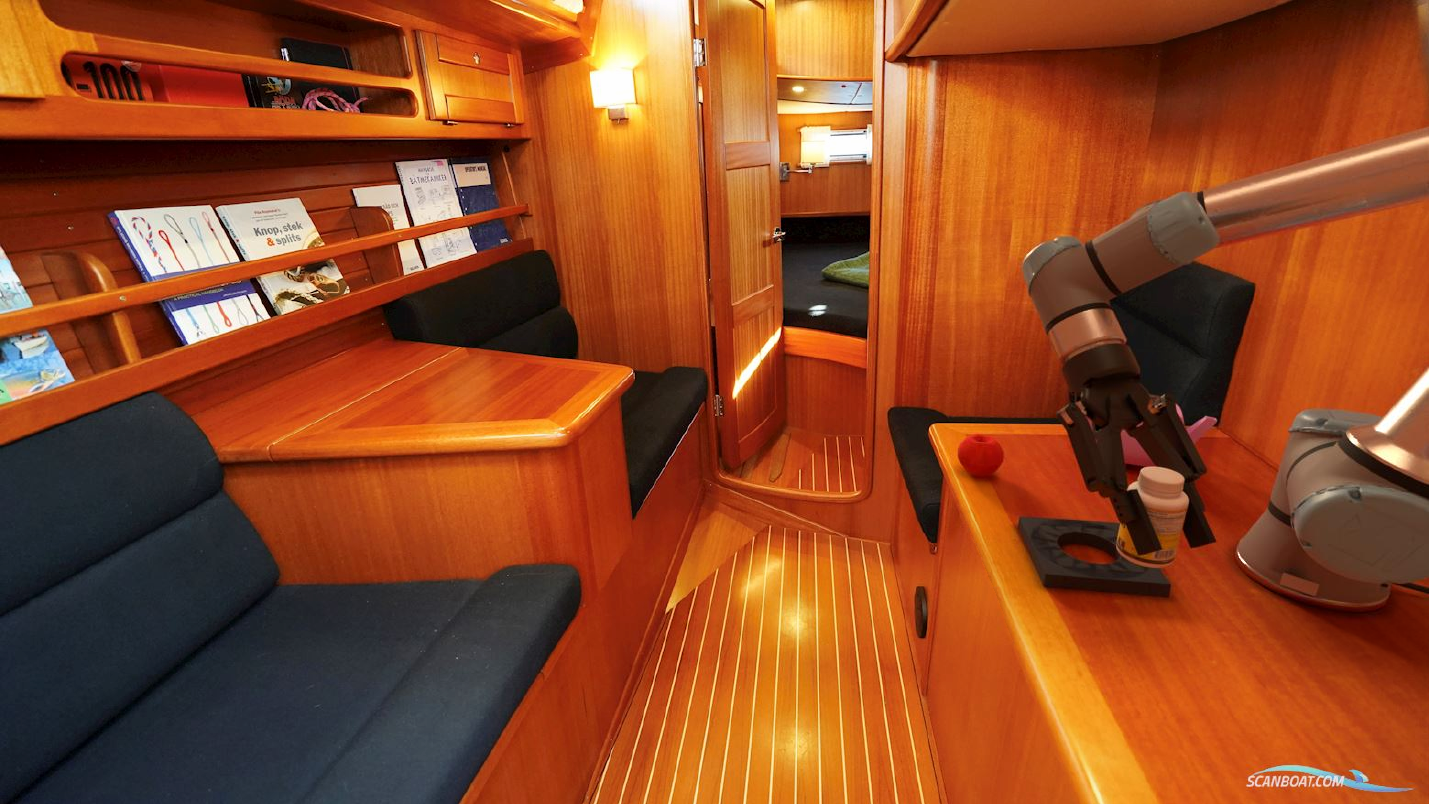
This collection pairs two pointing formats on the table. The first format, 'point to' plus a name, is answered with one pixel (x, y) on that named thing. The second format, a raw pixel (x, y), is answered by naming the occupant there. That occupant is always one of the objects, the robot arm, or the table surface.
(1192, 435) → the teapot
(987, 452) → the apple
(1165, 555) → the supplement bottle
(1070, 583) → the pad board
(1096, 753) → the table surface
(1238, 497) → the table surface
